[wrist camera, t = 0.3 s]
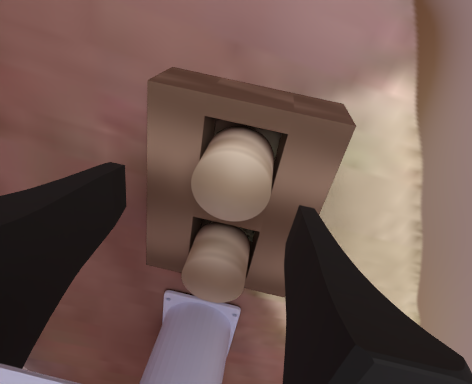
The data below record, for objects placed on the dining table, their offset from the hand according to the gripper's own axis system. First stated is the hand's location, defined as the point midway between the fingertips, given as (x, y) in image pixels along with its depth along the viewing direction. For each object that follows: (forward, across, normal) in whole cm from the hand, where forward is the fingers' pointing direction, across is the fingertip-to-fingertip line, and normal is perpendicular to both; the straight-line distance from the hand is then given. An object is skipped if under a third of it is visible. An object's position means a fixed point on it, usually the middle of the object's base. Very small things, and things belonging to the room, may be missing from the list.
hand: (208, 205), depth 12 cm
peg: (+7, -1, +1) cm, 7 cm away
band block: (+10, -1, +4) cm, 10 cm away
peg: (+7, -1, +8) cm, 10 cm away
